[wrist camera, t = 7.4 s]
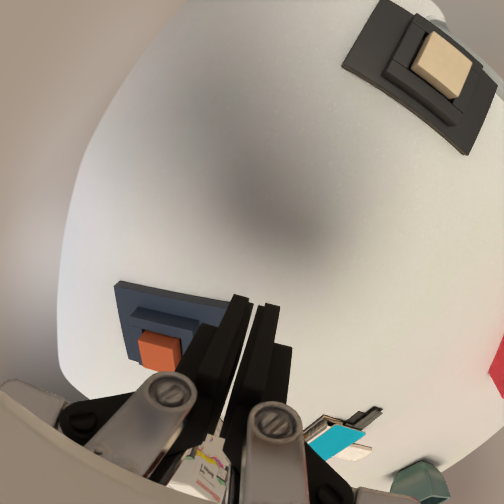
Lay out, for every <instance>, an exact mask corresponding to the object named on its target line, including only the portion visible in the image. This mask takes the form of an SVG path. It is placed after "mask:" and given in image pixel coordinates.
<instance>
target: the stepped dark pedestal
mask: <svg viewBox="0 0 504 504" xmlns="http://www.w3.org/2000/svg"><path fill="white" fill-rule="evenodd" d="M433 31H434V32H436V33H437V34H438V35H440V36H441V37H442V38H444V39H445V40H446V41H447V42H449V43H450V44H451V45H452V46H454V47H455V48H456V49H457V50H458V51H460V52H461V53H462V54H463V55H464V56H465V57H467V58H468V59H469V60H470V61H471V62H472V66H471V68H470V71H469V73H468V75H467V78H466V80H465V83H464V85H463V87H462V90H461V92H460V94H459V96H458V97H456V98H452V99H448V98H447V97H446V96H444V95H443V94H442V93H441V92H439V91H438V90H437V89H436V88H435V87H433V86H432V85H431V84H429V83H428V82H427V81H426V80H424V79H423V78H422V77H420V76H419V75H418V74H416V73H415V72H413V71H412V70H411V69H410V68H411V66H412V64H413V62H414V60H415V58H416V56H417V54H418V52H419V50H420V48H421V46H422V44H423V42H424V40H425V38H426V37H427V36H428V35H429V34H430V33H432V32H433ZM342 67H343V68H345V69H347V70H349V71H350V72H352V73H354V74H356V75H357V76H359V77H361V78H362V79H364V80H366V81H367V82H369V83H371V84H372V85H374V86H375V87H377V88H378V89H380V90H381V91H383V92H385V93H386V94H388V95H389V96H390V97H392V98H393V99H395V100H396V101H398V102H399V103H401V104H402V105H403V106H405V107H406V108H407V109H409V110H410V111H412V112H413V113H414V114H416V115H417V116H418V117H419V118H421V119H422V120H423V121H425V122H426V123H427V124H428V125H430V126H431V127H432V128H433V129H434V130H436V131H437V132H438V133H439V134H440V135H442V136H443V137H444V138H445V139H446V140H447V141H449V142H450V143H451V144H452V145H453V146H454V147H455V148H456V149H457V150H458V151H460V152H461V153H462V154H463V155H469V153H470V151H471V149H472V147H473V144H474V142H475V140H476V138H477V136H478V134H479V131H480V129H481V127H482V125H483V122H484V120H485V118H486V115H487V113H488V110H489V108H490V105H491V103H492V100H493V98H494V95H495V92H496V89H497V87H498V85H497V84H496V83H495V82H494V81H493V80H492V79H491V78H490V77H489V76H488V75H487V74H486V73H485V72H484V71H483V70H482V68H483V65H482V64H481V63H479V62H478V61H477V60H476V59H475V58H474V57H473V56H472V55H471V54H470V53H468V52H467V51H466V50H465V49H464V48H463V47H462V46H460V45H459V44H458V43H457V42H456V41H454V40H453V39H452V38H451V37H449V36H448V35H447V34H446V33H444V32H443V31H442V30H440V29H439V28H438V27H436V26H435V25H434V24H432V23H431V22H429V21H428V20H426V19H425V18H424V17H422V16H421V15H419V14H418V13H416V14H415V15H413V14H411V13H410V12H408V11H407V10H405V9H403V8H402V7H400V6H399V5H397V4H395V3H393V2H392V1H390V0H380V1H379V2H378V4H377V6H376V8H375V9H374V11H373V13H372V14H371V16H370V18H369V19H368V21H367V23H366V24H365V26H364V28H363V30H362V31H361V33H360V35H359V36H358V38H357V40H356V41H355V43H354V45H353V47H352V48H351V50H350V52H349V54H348V55H347V57H346V59H345V60H344V62H343V64H342Z"/></svg>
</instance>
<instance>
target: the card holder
mask: <svg viewBox="0 0 504 504" xmlns="http://www.w3.org/2000/svg"><path fill="white" fill-rule="evenodd" d="M376 409H377V410H376ZM382 410H383V409H380V408H377V407H373V408H372V409H370V410H369V411H368V412H367V413H363V412H360V411H358V412H357V413H356V414H355V415H353V416H352V417H351V418H350V419H348V420H347V421H346V422H345V423H342V422H344V421H341V420H338V419H335V418H332V417H329V416H326V415H322V416H321V417H320V418H319V419H317V420H316V421H315V422H314V423H312V424H311V425H310V426H309V427H307V428H306V429H305V430H303V436H304V440H305V441H306V442H307V443H308V444H309V445H310V446H311V447H312V449H313V450H314V451H315V452H316V453H317V454H318V455H319V456H320V457H321V458H322V459H323V460H324V461H326V460H328V459H329V458H331V457H333V456H334V457H338V458H343V459H347V460H352V461H358V460H359V459H361V458H363V457H364V456H366V455H368V454H369V453H371V452H372V448H370V447H365V446H361V445H357V444H353V443H354V442H356V441H357V440H359V439H360V438H362V437H363V436H364V435H366V433H365V432H363V431H361V430H362V429H363V428H365V427H366V426H368V425H369V424H370V423H371V422H372V421H374V420H375V419H376V418H377V417H379V416H380V415H381V414H383V413H382V412H380V411H382Z"/></svg>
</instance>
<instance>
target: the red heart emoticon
mask: <svg viewBox="0 0 504 504" xmlns="http://www.w3.org/2000/svg"><path fill="white" fill-rule="evenodd" d="M489 374H490V376H491V378H492V379H493V381H494V383H495V385H496V387H497V389H498V391H499V393H500V395H501V397H502V398H503V399H504V337H503V339H502V342H501V344H500V347H499V349H498V352H497V354H496V356H495V359H494V361H493V363H492V365H491V368H490V370H489Z"/></svg>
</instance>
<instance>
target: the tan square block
mask: <svg viewBox="0 0 504 504" xmlns="http://www.w3.org/2000/svg"><path fill="white" fill-rule="evenodd" d="M471 66H472V62H471V61H470V60H469V59H468V58H467V57H465V56H464V55H463V54H462V53H461V52H460V51H458V50H457V49H456V48H455V47H454V46H452V45H451V44H450V43H449V42H447V41H446V40H445V39H444V38H442V37H441V36H440V35H438V34H437V33H436V32H434V31H433V32H432V33H430V34H429V35H428V36H427V37H426V38H425V40H424V42H423V44H422V46H421V48H420V50H419V52H418V54H417V56H416V58H415V60H414V62H413V64H412V66H411V68H410V69H411V70H412V71H413V72H415V73H416V74H418V75H419V76H420V77H422V78H423V79H424V80H426V81H427V82H428V83H429V84H431V85H432V86H433V87H435V88H436V89H437V90H438V91H439V92H441V93H442V94H443V95H444V96H446V97H447V98H448V99H452V98H456V97H458V96H459V94H460V92H461V90H462V87H463V85H464V83H465V80H466V78H467V75H468V73H469V71H470V68H471Z"/></svg>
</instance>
